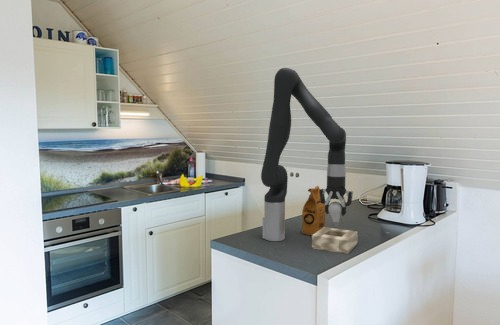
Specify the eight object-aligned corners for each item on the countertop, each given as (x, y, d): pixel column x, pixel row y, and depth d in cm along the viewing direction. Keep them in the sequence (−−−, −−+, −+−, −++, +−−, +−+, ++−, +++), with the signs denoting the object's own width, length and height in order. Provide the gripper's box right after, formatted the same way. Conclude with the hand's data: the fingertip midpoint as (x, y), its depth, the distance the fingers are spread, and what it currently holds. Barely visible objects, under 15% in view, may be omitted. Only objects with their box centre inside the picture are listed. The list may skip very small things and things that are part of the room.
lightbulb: (326, 228, 153) (327, 202, 152) (329, 225, 158) (329, 200, 157) (341, 229, 151) (342, 203, 150) (343, 226, 156) (343, 200, 155)
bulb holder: (311, 248, 152) (312, 235, 152) (323, 238, 165) (323, 226, 165) (347, 254, 145) (348, 240, 144) (357, 244, 158) (357, 231, 157)
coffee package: (298, 234, 173) (298, 188, 171) (309, 228, 183) (310, 184, 181) (318, 237, 168) (318, 189, 166) (328, 231, 178) (329, 186, 176)
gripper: (316, 174, 153) (316, 214, 154) (351, 176, 146) (350, 218, 147) (322, 173, 159) (321, 211, 161) (355, 174, 152) (355, 214, 153)
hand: (335, 214), depth 154 cm, fingers closed on lightbulb, 6 cm apart
